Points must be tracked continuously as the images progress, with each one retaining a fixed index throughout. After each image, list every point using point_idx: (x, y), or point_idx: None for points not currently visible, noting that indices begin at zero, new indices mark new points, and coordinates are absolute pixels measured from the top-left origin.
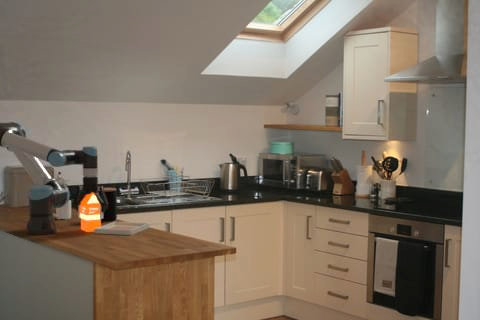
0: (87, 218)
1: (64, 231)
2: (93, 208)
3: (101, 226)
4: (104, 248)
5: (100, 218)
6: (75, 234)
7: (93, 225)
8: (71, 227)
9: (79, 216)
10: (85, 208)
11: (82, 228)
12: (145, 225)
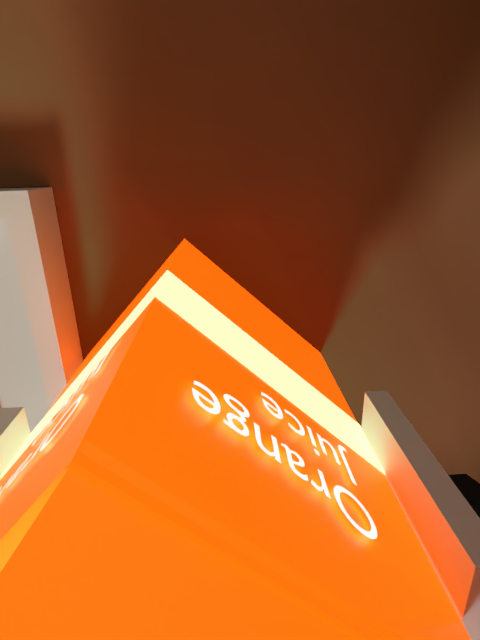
0: (155, 288)
1: (452, 193)
2: (8, 481)
3: (54, 368)
4: None
5: (8, 412)
6: (228, 23)
7: (121, 319)
8: (462, 423)
9: (373, 404)
10: (202, 411)
11: (292, 333)
12: None
